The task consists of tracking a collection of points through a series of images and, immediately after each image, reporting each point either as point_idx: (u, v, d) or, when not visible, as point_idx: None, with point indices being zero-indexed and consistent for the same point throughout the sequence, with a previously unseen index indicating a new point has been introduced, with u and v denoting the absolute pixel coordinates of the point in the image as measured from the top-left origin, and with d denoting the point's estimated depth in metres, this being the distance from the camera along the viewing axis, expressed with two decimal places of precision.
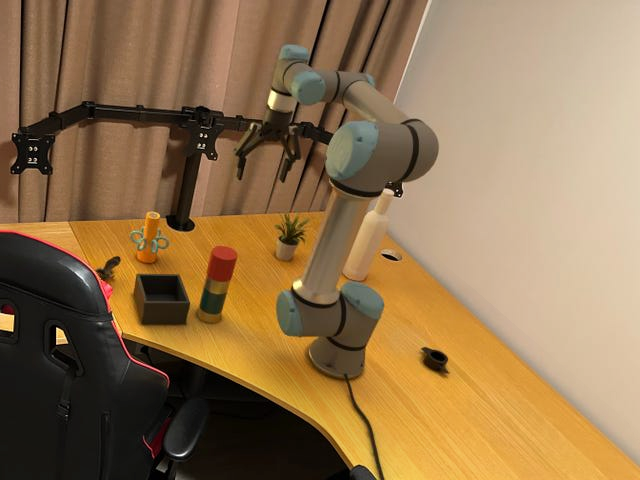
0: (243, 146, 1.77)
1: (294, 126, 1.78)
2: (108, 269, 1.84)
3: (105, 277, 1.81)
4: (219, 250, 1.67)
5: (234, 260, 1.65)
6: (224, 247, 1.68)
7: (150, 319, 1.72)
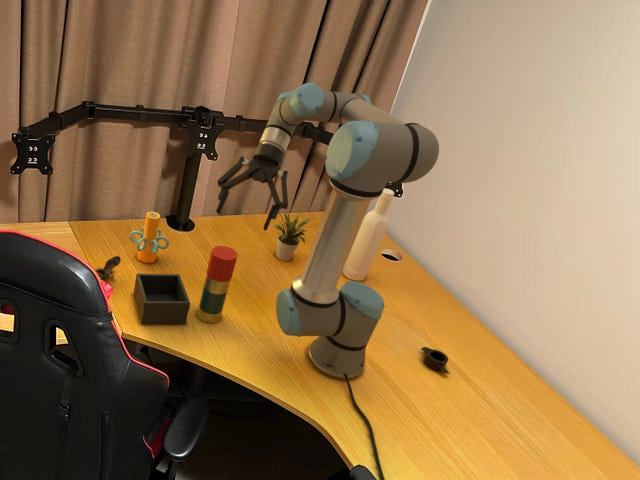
0: (227, 175, 1.72)
1: None
2: (108, 269, 1.84)
3: (105, 277, 1.81)
4: (219, 250, 1.67)
5: (234, 260, 1.65)
6: (224, 247, 1.68)
7: (150, 319, 1.72)
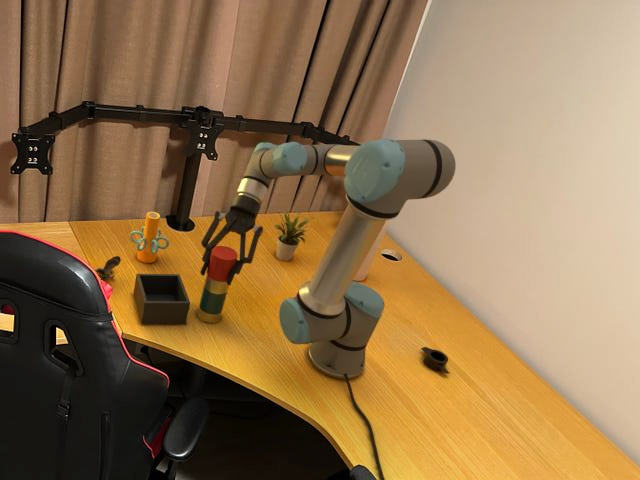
0: (208, 234, 1.68)
1: None
2: (108, 269, 1.84)
3: (105, 277, 1.81)
4: (219, 250, 1.67)
5: (234, 260, 1.65)
6: (224, 247, 1.68)
7: (150, 319, 1.72)
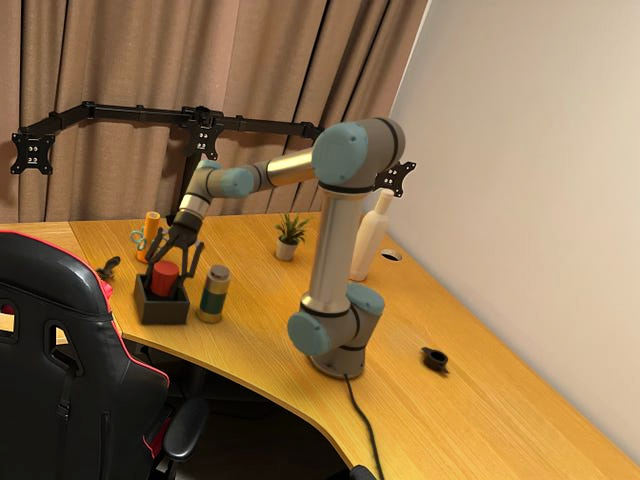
0: (151, 249, 1.72)
1: None
2: (108, 269, 1.84)
3: (105, 277, 1.81)
4: (161, 265, 1.70)
5: (176, 275, 1.68)
6: (167, 262, 1.71)
7: (150, 319, 1.72)
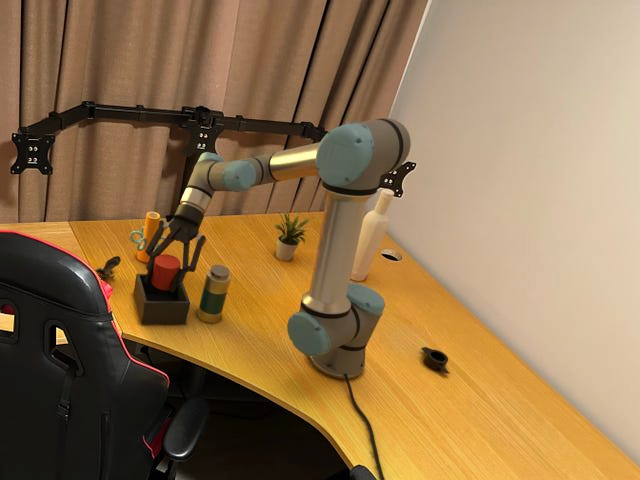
0: (152, 242, 1.70)
1: None
2: (108, 269, 1.84)
3: (105, 277, 1.81)
4: (162, 259, 1.69)
5: (177, 269, 1.67)
6: (168, 255, 1.70)
7: (150, 319, 1.72)
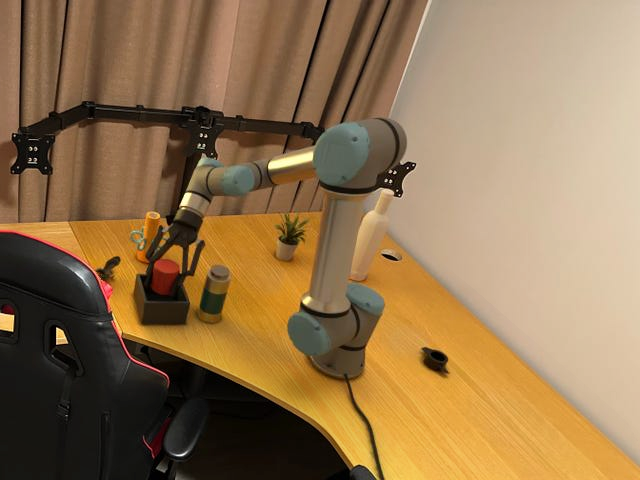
0: (152, 247, 1.71)
1: None
2: (108, 269, 1.84)
3: (105, 277, 1.81)
4: (162, 263, 1.70)
5: (176, 273, 1.68)
6: (167, 260, 1.71)
7: (150, 319, 1.72)
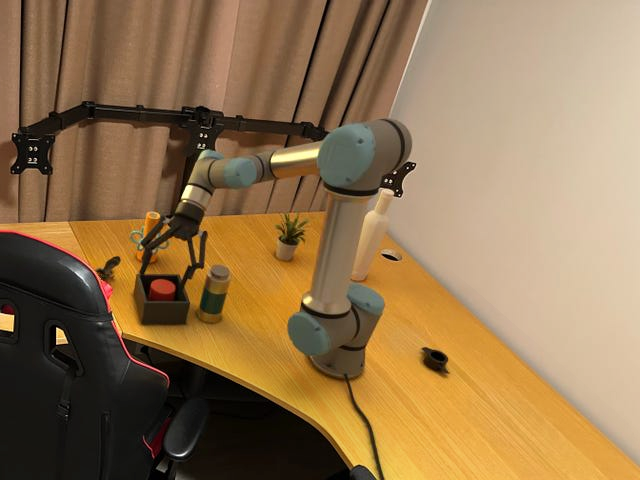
0: (149, 235, 1.70)
1: None
2: (108, 269, 1.84)
3: (105, 277, 1.81)
4: (158, 284, 1.74)
5: (172, 294, 1.73)
6: (163, 280, 1.76)
7: (150, 319, 1.72)
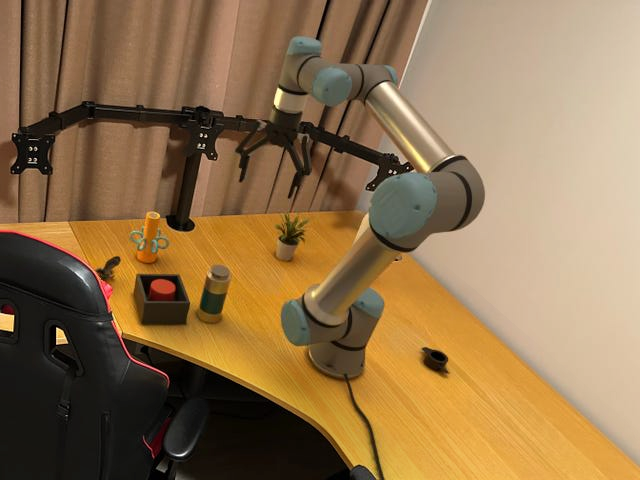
0: (243, 143, 1.61)
1: (305, 134, 1.55)
2: (108, 269, 1.84)
3: (105, 277, 1.81)
4: (158, 284, 1.74)
5: (172, 294, 1.73)
6: (163, 280, 1.76)
7: (150, 319, 1.72)
